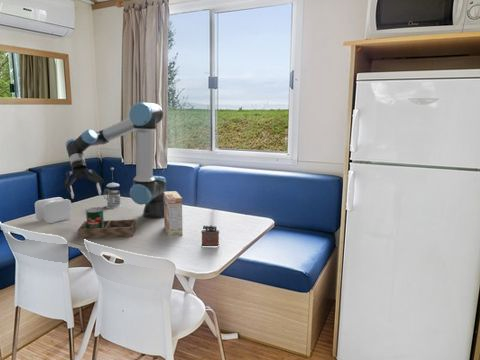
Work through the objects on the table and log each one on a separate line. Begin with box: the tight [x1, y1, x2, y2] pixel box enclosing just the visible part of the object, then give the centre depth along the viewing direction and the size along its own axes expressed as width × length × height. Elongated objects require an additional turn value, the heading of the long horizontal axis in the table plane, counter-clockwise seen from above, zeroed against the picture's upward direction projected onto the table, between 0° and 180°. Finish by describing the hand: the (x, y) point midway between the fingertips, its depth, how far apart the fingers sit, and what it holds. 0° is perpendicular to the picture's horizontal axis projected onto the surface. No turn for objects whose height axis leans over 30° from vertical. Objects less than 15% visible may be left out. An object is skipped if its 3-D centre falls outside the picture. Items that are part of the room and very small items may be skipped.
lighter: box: [201, 224, 220, 247], centre depth 164 cm, size 8×3×10 cm, turn 92°
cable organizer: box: [34, 196, 73, 224], centre depth 197 cm, size 15×11×12 cm
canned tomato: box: [85, 207, 105, 229], centre depth 177 cm, size 8×8×11 cm
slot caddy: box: [77, 219, 137, 239], centre depth 179 cm, size 25×13×4 cm, turn 100°
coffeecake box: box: [163, 190, 183, 237], centre depth 182 cm, size 15×7×20 cm, turn 21°
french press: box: [103, 167, 123, 209], centre depth 224 cm, size 10×12×25 cm
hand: (87, 195), depth 188 cm, fingers open, 13 cm apart
